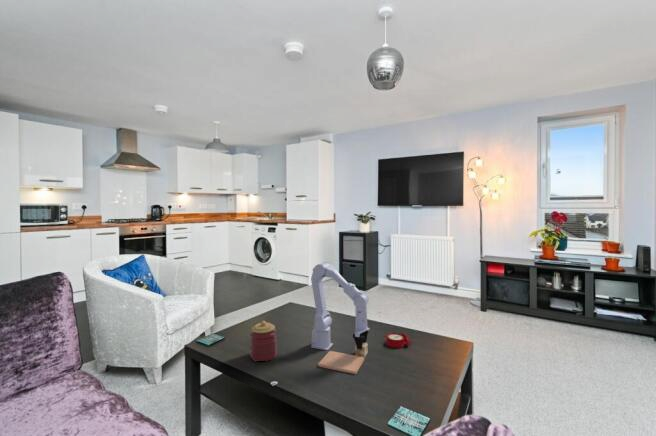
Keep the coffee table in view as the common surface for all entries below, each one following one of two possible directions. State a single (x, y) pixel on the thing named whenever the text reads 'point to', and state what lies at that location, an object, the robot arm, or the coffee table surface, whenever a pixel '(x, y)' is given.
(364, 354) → the maple cube
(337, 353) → the terracotta tile
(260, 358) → the canister
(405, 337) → the alarm clock
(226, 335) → the coffee table surface
